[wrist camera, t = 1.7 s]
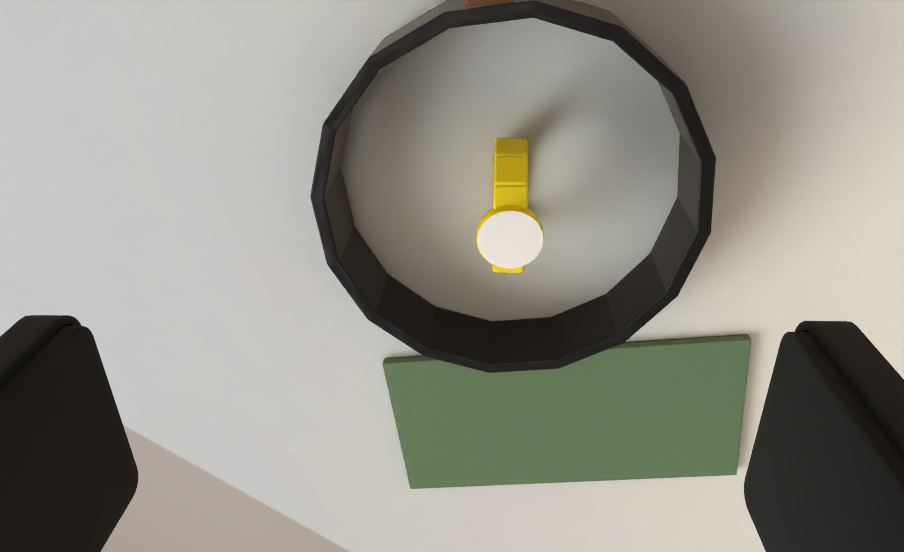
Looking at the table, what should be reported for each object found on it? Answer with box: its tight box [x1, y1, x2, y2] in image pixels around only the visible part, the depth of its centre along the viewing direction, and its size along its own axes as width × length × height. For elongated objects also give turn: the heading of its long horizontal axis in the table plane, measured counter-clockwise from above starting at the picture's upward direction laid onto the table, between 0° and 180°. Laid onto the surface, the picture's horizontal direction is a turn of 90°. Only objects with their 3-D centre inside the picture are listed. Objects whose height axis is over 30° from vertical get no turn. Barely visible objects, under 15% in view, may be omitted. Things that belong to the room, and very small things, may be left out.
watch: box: [476, 138, 544, 273], centre depth 30 cm, size 6×3×6 cm, turn 1°
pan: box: [311, 0, 716, 373], centre depth 28 cm, size 28×17×4 cm, turn 7°
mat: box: [383, 335, 751, 489], centre depth 40 cm, size 20×10×1 cm, turn 97°
